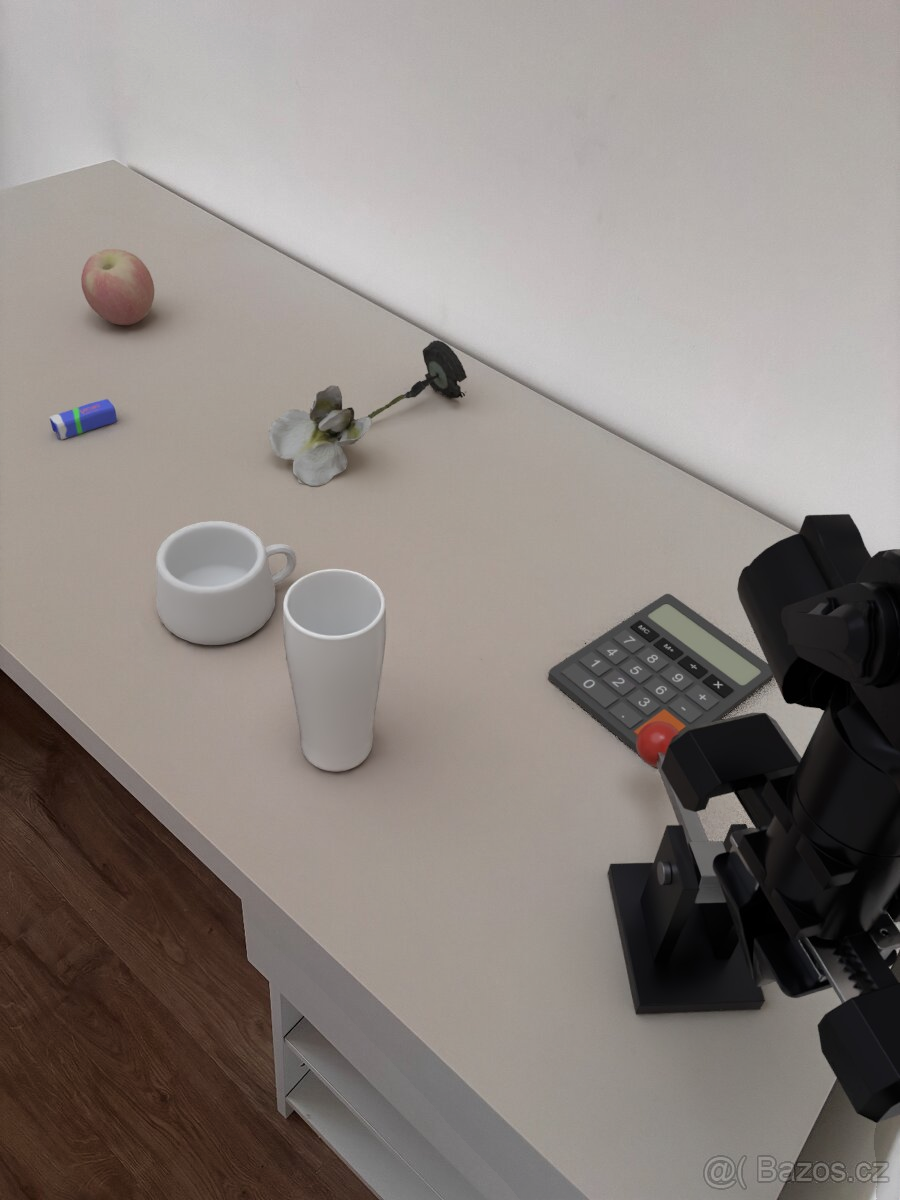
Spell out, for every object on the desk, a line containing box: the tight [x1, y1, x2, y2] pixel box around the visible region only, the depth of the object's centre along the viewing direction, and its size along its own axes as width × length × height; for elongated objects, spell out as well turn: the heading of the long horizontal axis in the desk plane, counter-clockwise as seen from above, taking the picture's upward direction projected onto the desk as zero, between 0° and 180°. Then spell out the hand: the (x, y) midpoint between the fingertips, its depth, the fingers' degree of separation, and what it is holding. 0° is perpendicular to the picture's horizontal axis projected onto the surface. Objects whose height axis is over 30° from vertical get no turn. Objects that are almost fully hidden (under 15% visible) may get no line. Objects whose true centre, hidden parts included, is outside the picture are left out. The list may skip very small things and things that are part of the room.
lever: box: [636, 721, 727, 904], centre depth 69 cm, size 15×3×3 cm, turn 4°
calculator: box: [547, 593, 774, 754], centre depth 86 cm, size 12×1×15 cm
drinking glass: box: [282, 568, 387, 772], centre depth 74 cm, size 7×7×15 cm
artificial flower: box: [268, 339, 468, 487], centre depth 105 cm, size 9×22×10 cm, turn 131°
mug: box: [155, 520, 297, 646], centre depth 87 cm, size 12×10×6 cm
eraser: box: [49, 398, 117, 440], centre depth 105 cm, size 2×6×2 cm, turn 126°
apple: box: [80, 248, 155, 326], centre depth 118 cm, size 8×8×8 cm
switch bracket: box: [607, 823, 766, 1015], centre depth 66 cm, size 10×8×10 cm
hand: (762, 978), depth 54 cm, fingers closed
